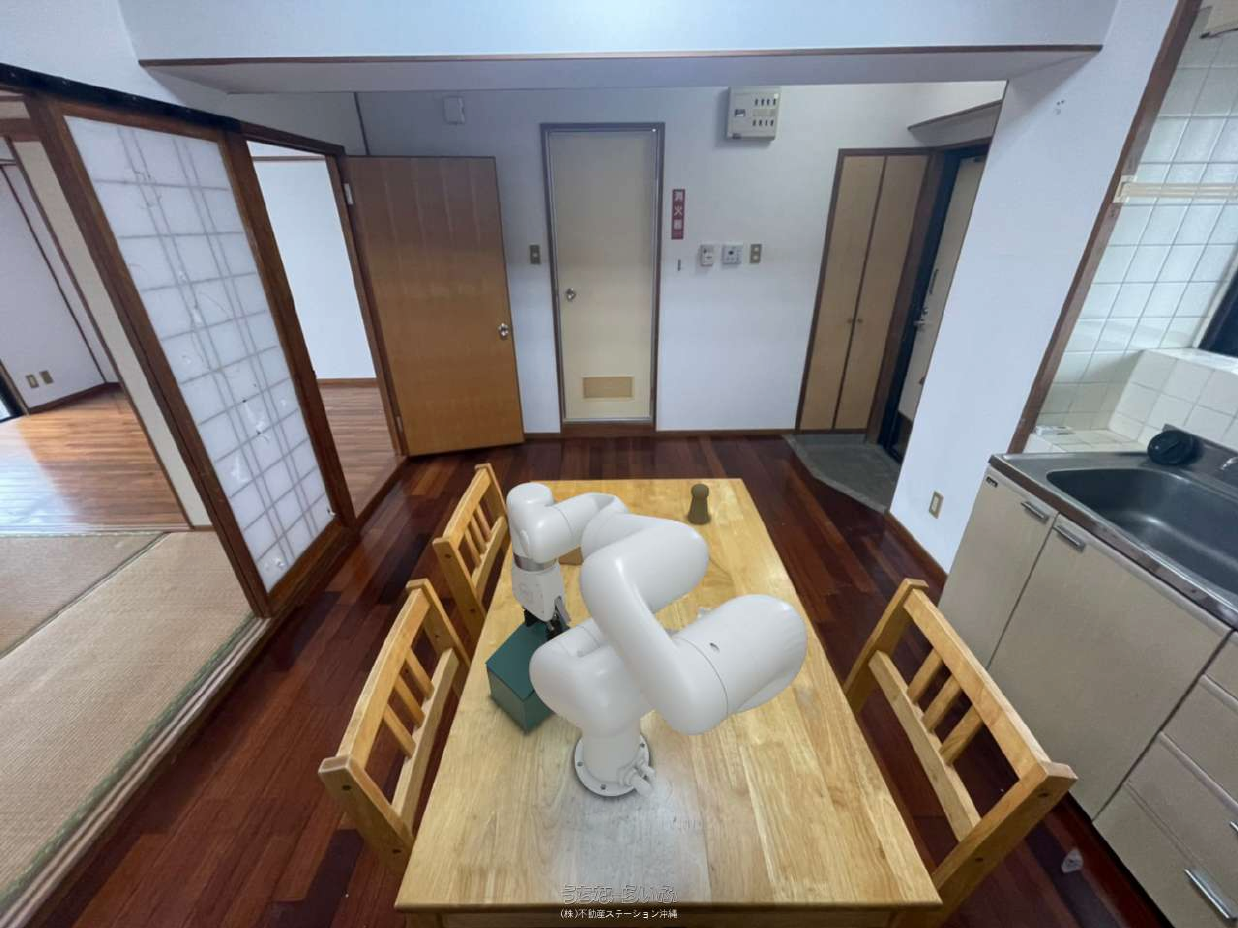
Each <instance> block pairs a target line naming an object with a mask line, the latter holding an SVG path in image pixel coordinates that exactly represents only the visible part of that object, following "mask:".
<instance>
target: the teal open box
mask: <svg viewBox="0 0 1238 928" xmlns="http://www.w3.org/2000/svg"><path fill="white" fill-rule="evenodd" d="M485 669H486V673H487V679H488V684H489V689H490V695H491V698H492V699H494V700H495V702H497V704H498V705H499V706H501V708H502V709H504V711H505V712H506V713H508V714H509V715H510V717H511V718H512V719H513V720H514V721H515V722H516V723H517V724H518V725H519V726H520V727H521V728H522V729H523V731H525V732H526V733H529V732H530V731H531V730H533V729H534V728H535V727H536V726H537V725H539V724H540V723H541V722H542V721H543V720H544V719H546V718H547V717H548V716H549V715H550V714H552V713H553V712H554V711H553V710H551V709H550V708H549V707H548V706H547V705H546V704H545V703H544V702H543V701H542V700H541V698H540V697H539V696H538V694H537V693H536V691H535V689H533V690H532V692H531V693H530V694H529V695H528V696H527V697H526V699H525V700H524V701H523V700H522V699H521V698H520V697H519V696H518V695H517V694H516V693H515V692H514V691H513V690H512V689H511V688H510V687H509V686H508V685H507V684H506V683H504V682H503V681H502V680H501V679H500V678H499V677H498V676H497V675H496V674H495V673H494V672H493V671H492V670H491V669H490V668H489V667H488V666H487V665H486V664H485Z"/></svg>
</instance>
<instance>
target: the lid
mask: <svg viewBox="0 0 1238 928" xmlns="http://www.w3.org/2000/svg"><path fill="white" fill-rule="evenodd" d="M531 614H532V613H531ZM532 615H533V616H534V617H536V616H535V615H534V614H532ZM536 618H537V619H538V620H539V621H538V622H536V623H535V624H533V625H532V626H530V627H527V626H526V625H525V620H524V621H522V622H521V624H520V625H519V626H518V627H517V628H516V629H515V630H514V631H513V632H512V633H510V635H509V636H508V637H507V639H505V640H504V642H502V644H501V645H500V646H499V647H497V649H496V650H495V651H494V653H493V654H491V656H490V657H488V659H487V660H486V661H485V662H484V664H485V666H486V665H487V666H488V667H489V668H490V669H491V670H492V671H493V672H494V673H495V674H496V675H497V676H498V677H499V678H500V679H501V680H502V681H503V682H504V683H506V684H507V685H508V686H509V687H510V688H511V689H512V690H513V691H514V692H515V693H516V694H517V695H518V696H519V697H520V698H521V699H522V700H523V701H524V700H525V699H526V697H527V696H528V695H529V694H530V693H531V692H532V690H533V689H534V687H533V685H532V682H531V679H530V673H529V666H530V661H531V658H532V656H533V654H534V652H535V651H536V650H537V649H538V648H539V647H540V646H542V645H543V644H545V643H546V642H547V637H546V628H547V627H548V626H547V623H546V621H542V620H541V619H539V618H538V617H536ZM555 619H557V617H556V614H554V615H553V617H552V621H554V620H555ZM571 628H572V627H571V626H569V625H568V624H566V625H564V626H562V633H564V632H566V631H567V630H569V629H571Z"/></svg>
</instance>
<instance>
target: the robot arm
mask: <svg viewBox="0 0 1238 928" xmlns="http://www.w3.org/2000/svg"><path fill="white" fill-rule="evenodd" d="M554 499H555V497H554V493H553V492H552V490H551V488H549V487H548V486H547V485H545V484H543V483H539V482H524V483H521V484H518V485H516V486H515V487H513V488H511V489H510V491H509V492H508V493H507V495H506V500H505V503H506V511H507V512H506V513H507V519H508V527H509V535H510V542H511V543H510V544H511V550H512V557H511V563H510V564H511V565H510V575H511V576H510V577H511V589H512V595H513V598H514V599H515V601H517V602H518V603H519V604H520V605H521V608H522V610H523V617H524V621H525V625H526V626H527V627H530V626H532V625H533V624H535V623H536V622H538V621H539V620H538V619H537V618H536V617H538V618H539V619H541V620H542V621H546V623H547V626H548V627H547V628H546V637H547V642H546V643H545V644H543V645H542V646H540V647H539V648H538V649H537V650H536V651H535V652H534V654H533V656H532V658H531V661H530V666H529V673H530V679H531V682H532V685H533V687H534V689H535V691H536V693H537V694H538V696H539V697H540V698H541V700H542V701H543V702H544V703H545V704H546V705H547V706H548V707H549V708H550V709H551V710H553V711H552V712H554V714H557V715H558V716H559V717H561V718H563V720H566V721H567V722H569V723H571V724H572V725H573V726H575V727H577V728H578V729H579V730H581V737H580V738H579V740H578V741H577V744H576V747H575V749H574V768H575V771H576V775H577V777H578V779H579V780H580V781H581V783H582V784H583V785H584V786H585V787H586V788H587V789H588V790H590V791H591V792H593V793H595V794H597V795H600V796H605V797H617V796H621V795H625V794H627V793H629V792H631V791H633V790H634V789H635V790H636V791H637V792H638V793H639V794H640V795H641V796H642V797H643V798H644V799H647V798H648V797H649V796H650V795H651V793H652V791H653V786H652V784H650V783H649V782H648V781H647V780H646V779H645V776H646V777H647V778H648V779H649V780H653V779H654V778H655V776H656V773H657V771H656V770H655V769H653V767H651V766H649V761H650V753H649V747H648V744H647V742H646V740H645V738H644V737H643V735H642V734H641V719H643V718H644V717H646V715H648V714H649V713H651V712H653V711H654V710H655V711H656V712H657V714H658V715H659V716H660V718H661V719H662V720H663V721H664V722H665V723H666V724H667V725H668V726H670V727H671V728H672V729H674V730H675V731H677V732H679V733H681V734H683V735H686V736H701V735H704V734H706V733H708V732H710V731H712V730H714V729H715V728H716V727H718V726H720V725H721V724H722V723H723V722H725V721H726V720H727V719H728V718H730V716H733V715H737V714H741V713H742V714H743V713H745V712H747V711H751V710H753V709H756V708H758V707H760V706H762V705H764V704H767V703H768V702H770V701H771V700H773V699H774V698H776V697H777V696H779V695H780V694H781V693H783V692H784V691H785V690H787V689H788V688H789V686H790V685H792V684H793V682H794V681H795V679H796V678H797V676H799V675H798V674H799V673H800V671H801V669H802V667H803V664H804V662H805V659H806V655H807V650H808V631H807V630H808V629H807V626H806V623H805V620H804V619H803V616H802V615H801V614H800V612H799V611H798V609H796V608H795V607H794V606H793V605H792V604H790V603H789V602H788V601H786V600H784V599H782V598H780V597H778V596H775V595H772V594H765V593H751V594H750V593H749V594H744V595H740V596H737V597H734V598H731V599H729V600H727V601H724V602H723V603H720V605H718V606H716V607H715V608H712V609H711V610H712V611H710V612H708V613H707V614H705V615H703V616H702V617H700V618H698V619H697V618H696V619H695V620H694V621H693V622H690V623H689V624H688V625H686V626H684V627H683V628H682V629H680V630H678V629H674V628H669V627H665V626H663V625H662V624H661V623H660V621H659V620H658V619H657V617H656V616H655V614H656V613H658V612H660V611H662V610H663V609H665V608H667V607H669V606H670V605H672V604H673V603H675V602H677V601H678V600H680V599H682V598H684V597H685V596H686V595H688V594H689V593H690V592H691V591H693V590H694V589H695V588H696V587H698V585H699V584H700V583H701V582H702V580H704V577H705V576H706V574H707V573H708V568H709V566H710V560H711V559H710V558H711V557H710V549H709V546H708V543H707V541H706V540H705V538H704V536H703V535H702V534H701V533H700V532H699V531H698V530H697V529H696V528H694V527H692V526H691V525H689V524H687V523H684V522H681V521H679V520H674V519H668V518H662V517H655V516H649V515H641V514H635V513H632V512H631V511H630V508H628V506H627V505H626V504H625V502H623V500H622V499H621V498H619V496H617V495H614V494H612V493H605V492H595V491H593V492H584V493H581V494H578V495H575V496H572V497H569V498H566V499H564V500H562V501H558V502H559V503H557V504H554ZM579 547H581V553H582V557H583V560H584V562H583V564H581V566H580V568H579V572H578V587H579V593H580V595H581V599H582V601H583V604H584V606H585V609H586V610H587V612H588V613H589V615H590V616H589V617H588V618H586V619H584V620H583V621H581V622H579V623H577V624H575V625H574V626H573V627H571V629H569V630H567V631H566V632H564V633H562V626H564V625H566V624H567V625H568V624H569V623H571V622H572V618H571V616H570V614H569V612H568V610H567V609H566V606H567V598H566V589H565V583H564V577H563V574H562V568H561V565H560V563H558V557H560V556H562V555H564V554H566V553H568V552H570V551H572V550H574V549H576V548H579ZM531 613H532V614H534V615H535V616H536V617H534V616H533V615H532V614H531ZM553 615H555V616H556V617H557V619H555V620H554V621H552V617H553Z"/></svg>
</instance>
